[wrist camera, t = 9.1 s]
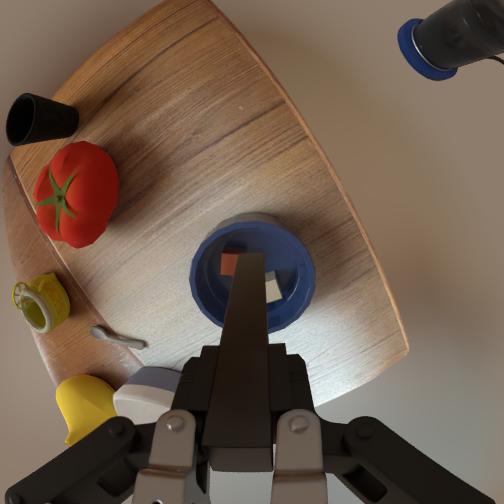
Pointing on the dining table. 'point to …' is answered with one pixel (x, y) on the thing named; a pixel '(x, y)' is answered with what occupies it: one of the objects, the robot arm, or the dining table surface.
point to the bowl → (146, 394)
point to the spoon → (102, 335)
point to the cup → (39, 120)
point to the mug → (43, 302)
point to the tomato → (77, 194)
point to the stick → (242, 378)
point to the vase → (84, 405)
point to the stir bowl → (275, 258)
